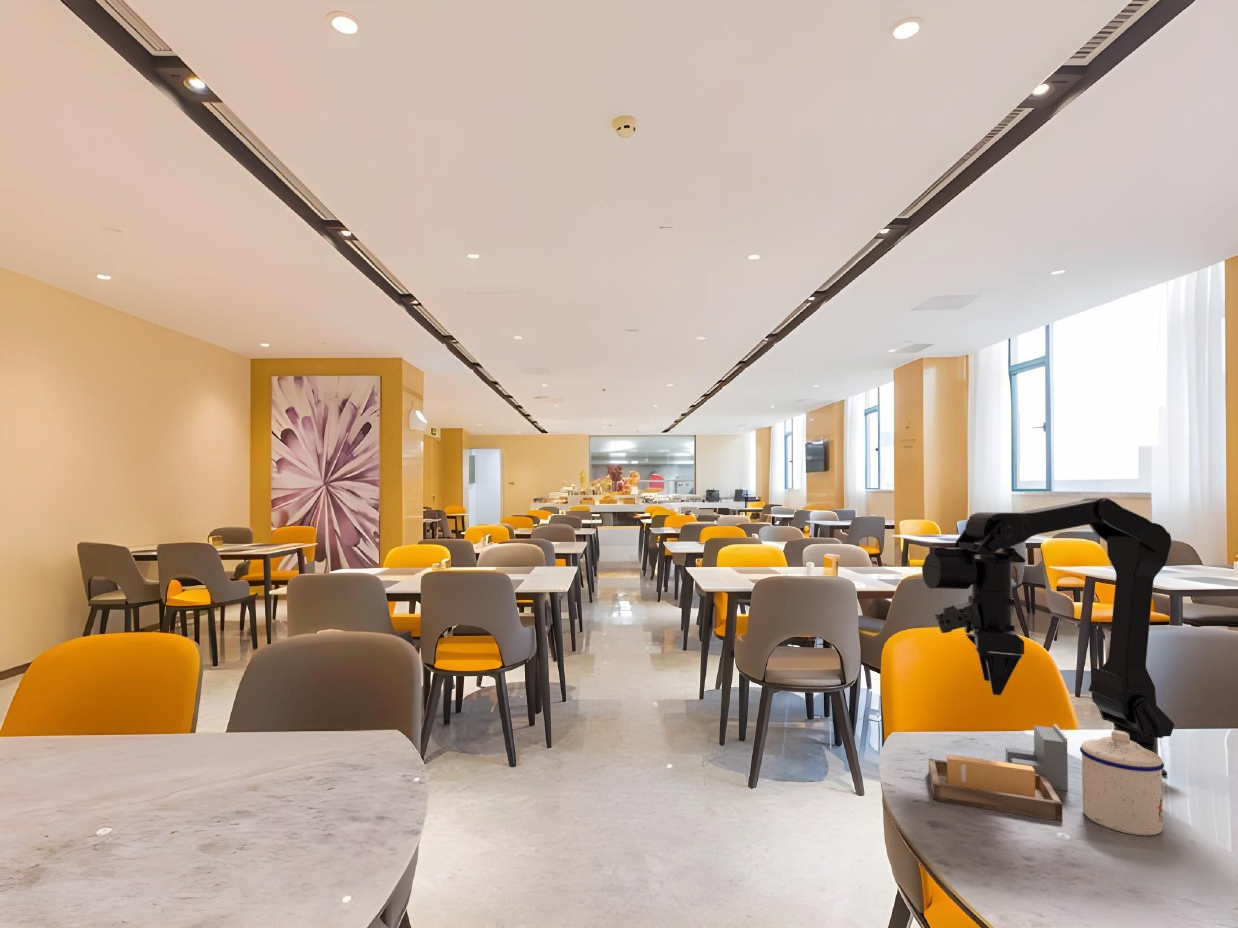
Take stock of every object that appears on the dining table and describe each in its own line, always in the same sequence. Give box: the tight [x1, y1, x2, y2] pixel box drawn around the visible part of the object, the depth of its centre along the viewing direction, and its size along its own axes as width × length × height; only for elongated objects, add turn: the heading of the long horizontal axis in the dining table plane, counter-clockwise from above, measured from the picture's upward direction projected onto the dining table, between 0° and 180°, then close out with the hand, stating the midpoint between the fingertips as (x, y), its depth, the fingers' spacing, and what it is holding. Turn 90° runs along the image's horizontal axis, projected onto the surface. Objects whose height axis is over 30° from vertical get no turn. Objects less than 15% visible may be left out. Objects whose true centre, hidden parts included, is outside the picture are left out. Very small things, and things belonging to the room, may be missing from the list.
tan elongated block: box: [946, 753, 1035, 798], centre depth 99 cm, size 2×11×4 cm, turn 69°
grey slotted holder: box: [1005, 723, 1069, 792], centre depth 105 cm, size 7×7×8 cm
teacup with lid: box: [1079, 729, 1165, 836], centre depth 93 cm, size 12×9×12 cm
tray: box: [928, 758, 1063, 822], centre depth 99 cm, size 11×16×2 cm
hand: (992, 687), depth 110 cm, fingers open, 9 cm apart
